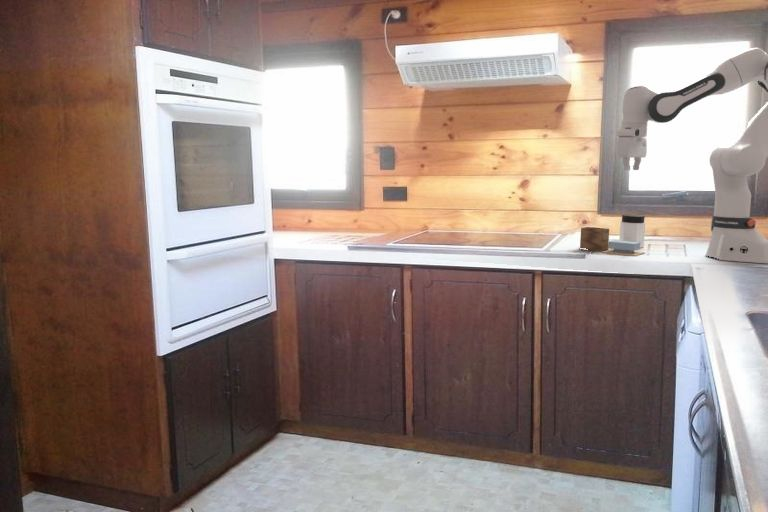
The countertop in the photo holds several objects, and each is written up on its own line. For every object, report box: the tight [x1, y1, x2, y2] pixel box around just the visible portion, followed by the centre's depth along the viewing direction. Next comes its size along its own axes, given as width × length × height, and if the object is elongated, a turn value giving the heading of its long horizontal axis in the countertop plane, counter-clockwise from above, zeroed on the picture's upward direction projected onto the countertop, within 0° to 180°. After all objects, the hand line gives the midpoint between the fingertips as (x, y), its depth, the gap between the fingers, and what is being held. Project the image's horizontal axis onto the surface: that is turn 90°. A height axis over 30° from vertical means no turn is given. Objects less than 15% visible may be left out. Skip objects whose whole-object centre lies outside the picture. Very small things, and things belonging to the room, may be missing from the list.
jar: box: [619, 213, 646, 249], centre depth 268 cm, size 9×8×12 cm
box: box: [579, 226, 610, 253], centre depth 258 cm, size 9×5×8 cm, turn 51°
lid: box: [608, 239, 641, 253], centre depth 252 cm, size 9×6×4 cm, turn 51°
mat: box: [601, 248, 646, 257], centre depth 252 cm, size 12×9×1 cm
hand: (631, 170), depth 258 cm, fingers open, 8 cm apart
